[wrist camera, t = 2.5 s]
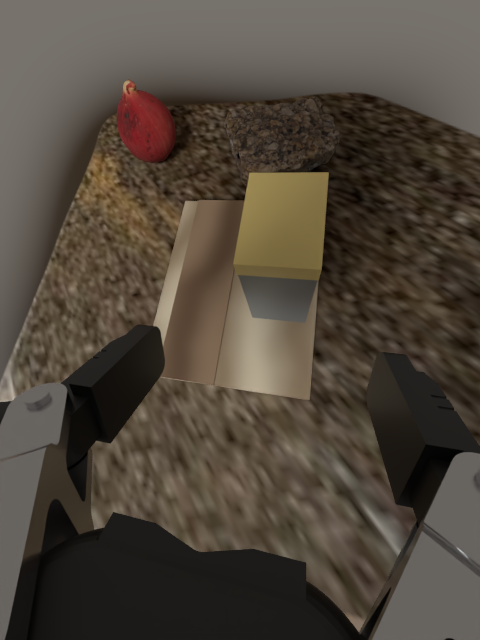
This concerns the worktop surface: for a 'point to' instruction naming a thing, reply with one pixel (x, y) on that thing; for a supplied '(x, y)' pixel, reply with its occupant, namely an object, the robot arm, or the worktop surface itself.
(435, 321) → the worktop surface
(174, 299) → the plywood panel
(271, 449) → the worktop surface
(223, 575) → the robot arm
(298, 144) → the concrete sample
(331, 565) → the worktop surface
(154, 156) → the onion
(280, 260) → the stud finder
